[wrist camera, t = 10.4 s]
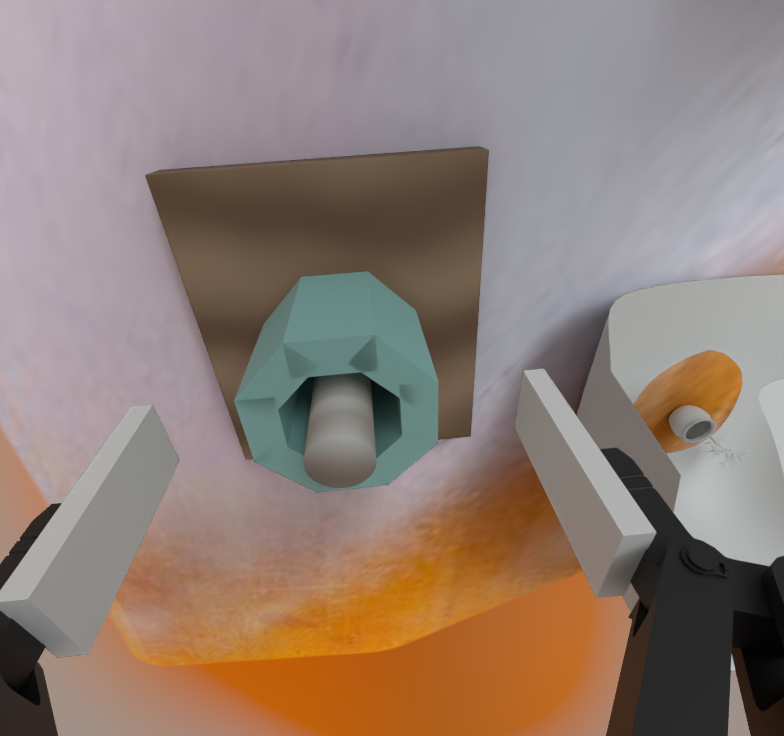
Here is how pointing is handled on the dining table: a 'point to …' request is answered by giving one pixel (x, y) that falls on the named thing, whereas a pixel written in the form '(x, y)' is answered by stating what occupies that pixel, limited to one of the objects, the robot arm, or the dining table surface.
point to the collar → (340, 356)
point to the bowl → (732, 440)
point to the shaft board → (334, 271)
